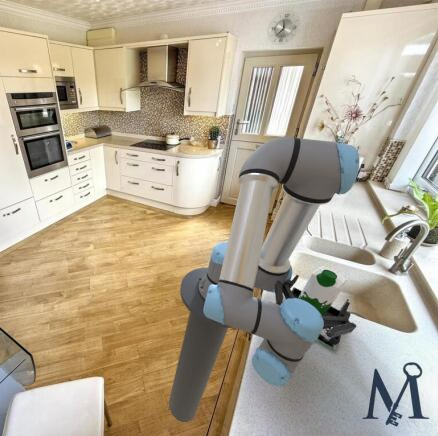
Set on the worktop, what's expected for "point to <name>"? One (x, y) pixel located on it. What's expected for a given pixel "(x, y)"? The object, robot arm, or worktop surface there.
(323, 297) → the soya milk
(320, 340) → the black tray
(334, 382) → the worktop surface
